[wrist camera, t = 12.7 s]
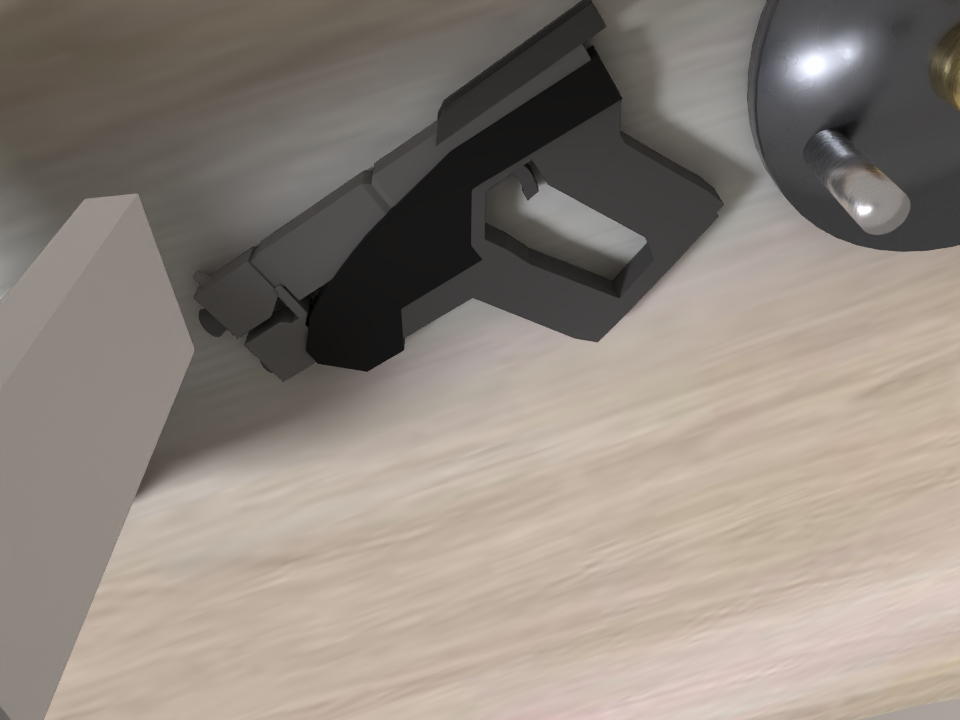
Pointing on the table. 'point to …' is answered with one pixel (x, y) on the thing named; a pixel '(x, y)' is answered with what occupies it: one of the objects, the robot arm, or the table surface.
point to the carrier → (862, 116)
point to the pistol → (466, 220)
